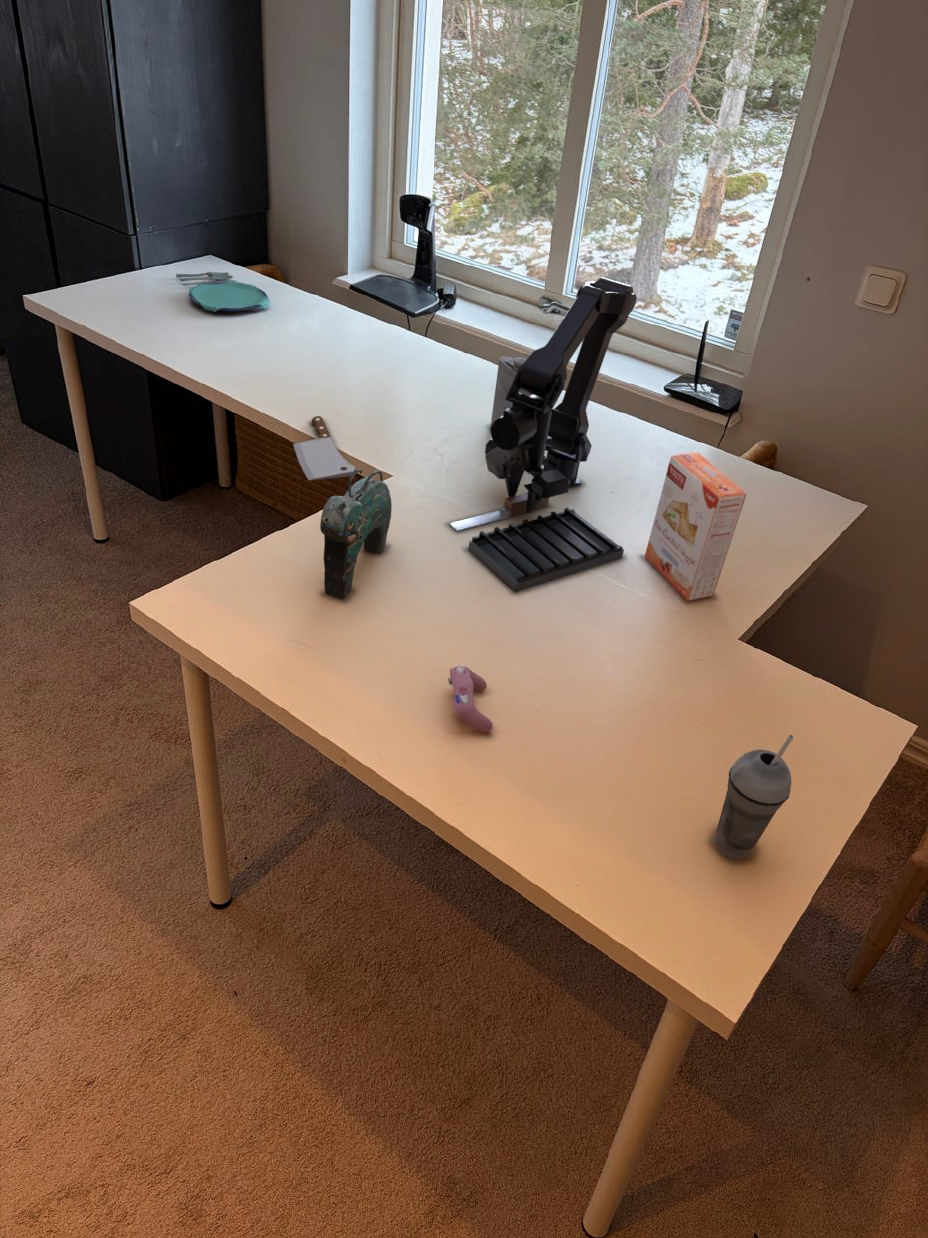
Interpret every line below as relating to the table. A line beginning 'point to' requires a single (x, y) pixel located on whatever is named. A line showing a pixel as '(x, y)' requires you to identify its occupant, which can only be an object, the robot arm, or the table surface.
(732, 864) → the table surface
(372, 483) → the elephant figurine
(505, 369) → the flask
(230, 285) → the cutlery set
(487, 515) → the knife
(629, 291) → the robot arm
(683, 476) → the cracker box
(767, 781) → the beverage cup
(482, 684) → the video game controller
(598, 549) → the dish rack
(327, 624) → the table surface
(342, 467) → the kitchen cleaver
